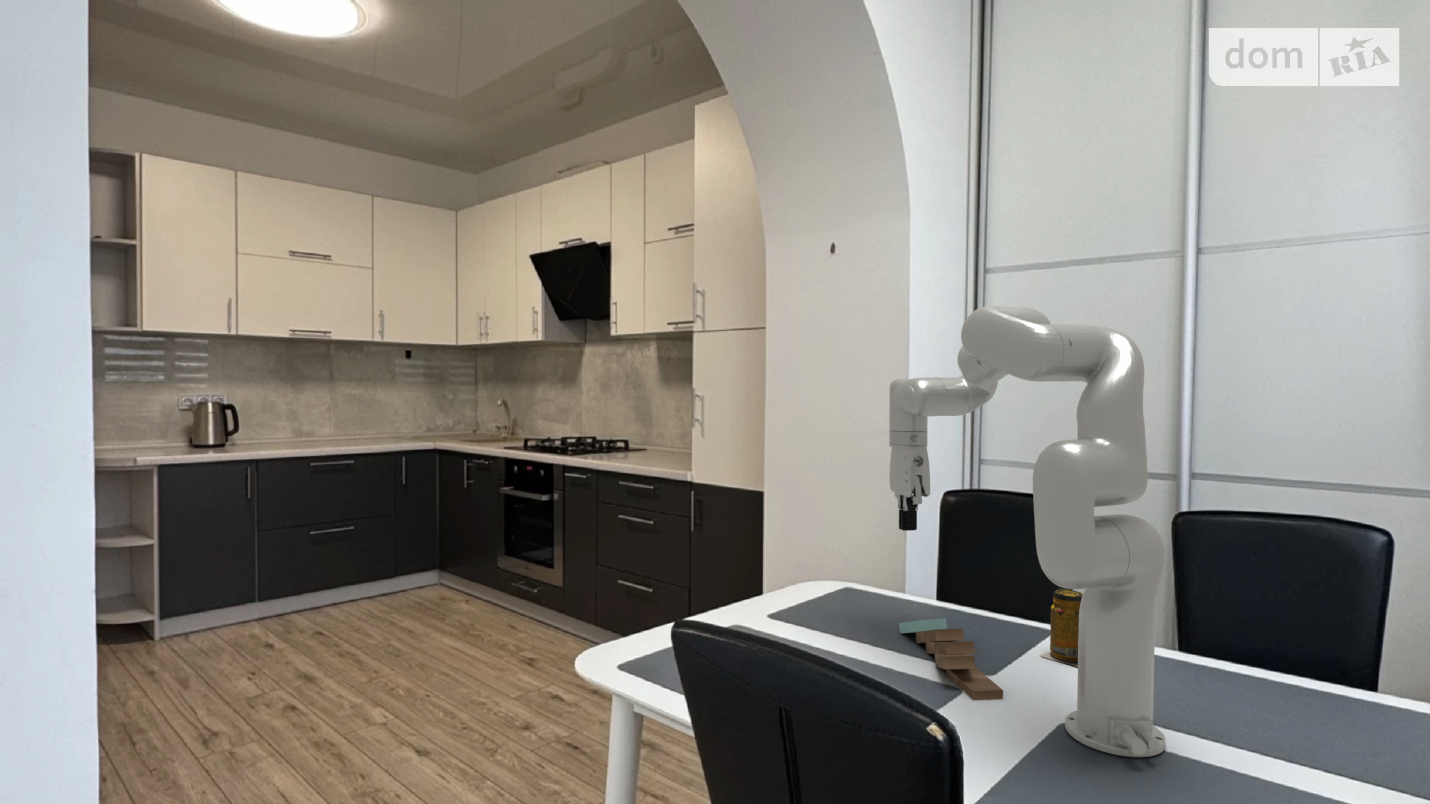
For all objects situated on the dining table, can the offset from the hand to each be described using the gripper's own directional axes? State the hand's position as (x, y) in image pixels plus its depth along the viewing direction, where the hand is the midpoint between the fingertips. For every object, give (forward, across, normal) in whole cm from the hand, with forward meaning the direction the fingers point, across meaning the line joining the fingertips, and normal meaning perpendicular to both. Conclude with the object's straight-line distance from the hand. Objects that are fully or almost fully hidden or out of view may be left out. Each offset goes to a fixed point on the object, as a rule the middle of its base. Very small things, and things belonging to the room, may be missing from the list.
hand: (907, 529), depth 152 cm
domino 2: (+19, -8, 0) cm, 21 cm away
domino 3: (+19, -14, 0) cm, 24 cm away
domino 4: (+19, -20, +1) cm, 28 cm away
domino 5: (+20, -24, +1) cm, 31 cm away
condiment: (+21, -20, -23) cm, 37 cm away
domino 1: (+19, -2, 0) cm, 19 cm away
